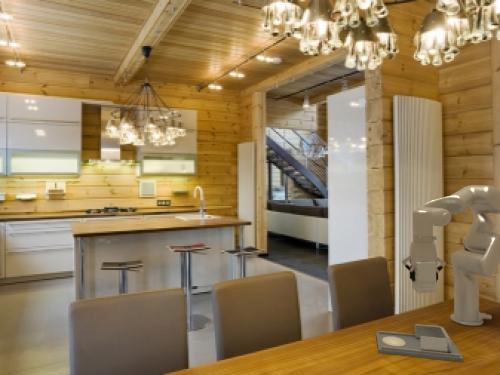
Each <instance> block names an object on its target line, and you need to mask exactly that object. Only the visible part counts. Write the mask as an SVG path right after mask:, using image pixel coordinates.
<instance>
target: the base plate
mask: <svg viewBox="0 0 500 375" xmlns="http://www.w3.org/2000/svg"><path fill="white" fill-rule="evenodd" d="M375 336H376V341H377V342H376V343H377V349H378V353H379V354H386V355H387V354H389V355H397V356H404V357H405V356H406V357H415V358H424V359H430V360H431V359H433V360H440V361H441V360H442V361H450V362H451V361H452V362H458V363H459V362H460V363H464V357H463V355H462V353H460V351H459V349H458V348H457V345H456V344H455V343H454V341H453V339H452V338H450V339H451V353H443V352H434V351H424V350H420V338H416V337H415V333H405V332H397V331H384V330H383V331H382V330H378V331H376V332H375Z"/></svg>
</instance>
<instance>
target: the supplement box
mask: <svg viewBox="0 0 500 375" xmlns="http://www.w3.org/2000/svg"><path fill="white" fill-rule="evenodd" d="M436 267H437V266H436V263H435V262H415V268H414V270H413V272H414V282H412V281H411V286H412V288H411V289H413V290H414V291H415V292H416V293H417V294H437V283H436Z"/></svg>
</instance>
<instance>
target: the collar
mask: <svg viewBox="0 0 500 375" xmlns="http://www.w3.org/2000/svg"><path fill="white" fill-rule="evenodd" d="M414 334H415V337H416V338H420V350H424V351H434V352H443V353H451V339H452V338H451V337H450V336H449V334H448V332H447V330H446V329H445V328H444V326H443V325H442V326H440V325H431V324H419V323H415V324H414Z"/></svg>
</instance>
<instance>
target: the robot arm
mask: <svg viewBox="0 0 500 375" xmlns="http://www.w3.org/2000/svg"><path fill="white" fill-rule="evenodd" d="M469 208H470V210H471V214H472V218H473V220H472V224H471V226H470V228H469V230H468V232H467V234H466V236H465V238H464V242H463V245H464V248H466V249H467V250H465V249H461V250H457V251H456V250H455V251H454V252H453V253H452V255H451V264H452V265H451V266H452V270H453V293H454V294H453V295H454V296H453V300H454V302H453V305H454V306H453V308H454V309H453V313H451V315H450V320H451V321H453V322H454V323H457V324H460V325H464V326H472V327H473V326H474V327H477V326H481V325H483V324H484V320H492V317H493V316H492V315H491V314H487V313H485V312H481V311H480V288H479V287H480V285H479V284H480V283H479V279H478V278H477V275H478V276H481V277H485V278H486V277H492V276H493V275H495V274H496V272H497V270H498V267H499V265H500V234H499V233H494V229H495V223H494V222H493V220H492V218H491V216H490V215H489V214H492V215H493V214H497V215H500V189H498V188H497V187H494V186H492V185H483V184H482V185H480V184H479V185H478V184H473V185H472V184H471V185H466V186H464V187H462V188H461V189H459V190H457V191H456V192H453V193H452V194H450V195H448V196H444V197H441V198H436V199H433V200H430V201H428V202H426V203H423V204H422V205H420V206H418V207H417V208H416V209H414V210H413V211H412V241H411V242H410V246H409V256H407V257H406V258H404V259H402V260H401V263H402V265H403V266H404V267H405V268H406V269H407V270H408V272H409V279H410V280H411V283H412V282H414V272H413V270H414V268H415V262H435V263H436V284H437V283H438V281H439V273H440V272H441V271H442V270H443V268H444V267H445V266H446V265H447V262H446V261H444V260H443V259H441V258H440V257H438V252H437V246H436V242H435V241H437V240H438V237H437V236H434V227H444V226H447V225H448V224H450V222H451V220H452V215H456V214H457V215H458V214H461V213H463V212H465V211H466V210H468V209H469ZM407 262H409V263H410V265H408V263H407ZM438 262H439V263H440V265H438Z"/></svg>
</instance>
